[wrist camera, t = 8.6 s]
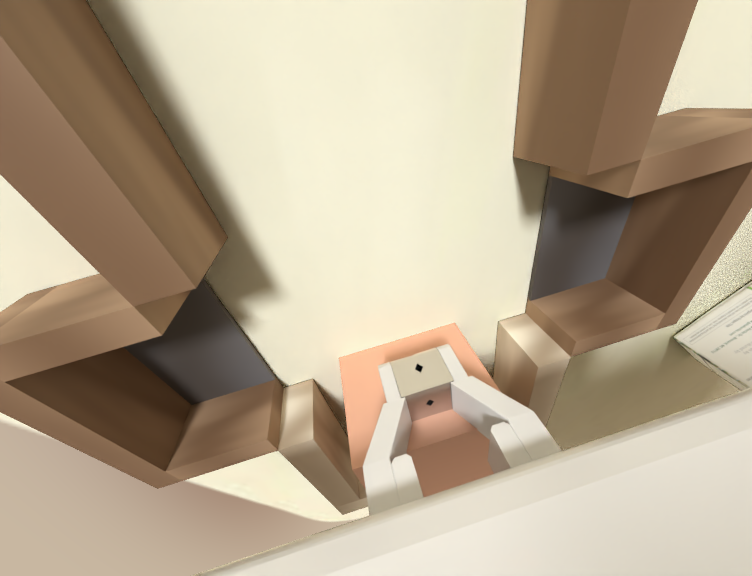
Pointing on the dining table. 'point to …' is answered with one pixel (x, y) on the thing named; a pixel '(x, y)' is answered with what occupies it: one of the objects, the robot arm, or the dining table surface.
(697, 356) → the syrup box
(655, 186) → the trap channel
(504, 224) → the dining table surface
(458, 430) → the terracotta block
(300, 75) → the dining table surface
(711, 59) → the dining table surface
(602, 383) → the dining table surface
